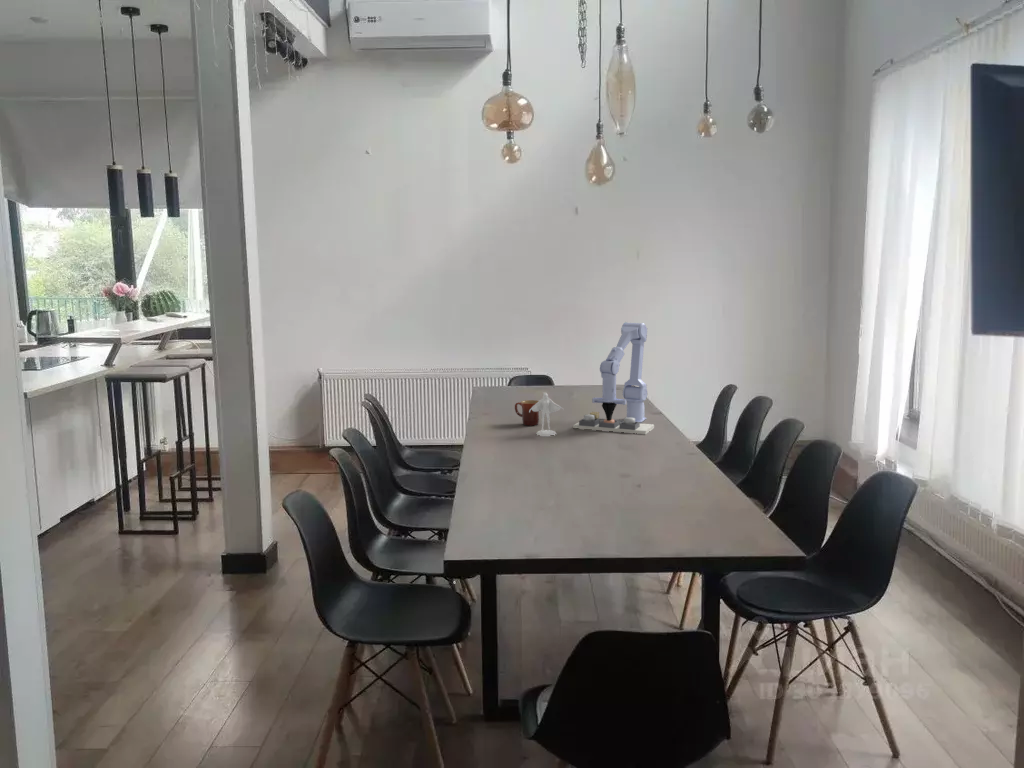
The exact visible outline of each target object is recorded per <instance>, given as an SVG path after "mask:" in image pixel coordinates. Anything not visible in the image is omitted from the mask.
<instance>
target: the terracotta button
mask: <svg viewBox="0 0 1024 768" xmlns="http://www.w3.org/2000/svg"><path fill="white" fill-rule="evenodd" d="M603 419H604V423H615V420H616V419H615V418H614V419H613V418H612V419H611V420H610V421H608V420H607V418H603Z"/></svg>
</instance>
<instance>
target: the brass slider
mask: <svg viewBox="0 0 1024 768" xmlns="http://www.w3.org/2000/svg"><path fill="white" fill-rule="evenodd" d="M589 414H591V415H595V419H598V418H599V419H600V412H599V411H592V412H590V413H589Z"/></svg>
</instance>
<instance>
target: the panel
mask: <svg viewBox="0 0 1024 768" xmlns="http://www.w3.org/2000/svg"><path fill="white" fill-rule="evenodd" d="M604 419H605V418H600V417H599V418H598V419H595V421H594V422H590V421H584V417H583V418H582V419H580V420H579V421H578V422H576V423H575V424H573V425H572V429H573V428H580V429H579V430H584V429H592V430H591V431H596V430H602V431H601V432H609V431H613V432H612V433H621V432H624V434H633V433H635V434H636V433H637V435H647V434H648V433H650V432H651V431H652V430H653V429H655V424H651V423H640V422H635V425H630V424H624V419H614V420H615V423H604ZM649 431H650V432H649Z"/></svg>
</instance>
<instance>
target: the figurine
mask: <svg viewBox="0 0 1024 768" xmlns="http://www.w3.org/2000/svg"><path fill="white" fill-rule="evenodd" d="M542 393H543V394H542V397H541V398H540V399H539V400H537V401H538V402H537V403H536V404H535V405H534V406H533V407H532V408H531V409H532V411H534V412H537V411H539V412H541V430H538V431H537V432H536V433H535V435H536V434H537V435H536V436H538V435H540V436H539V437H551V436H550V435H554V436H556V435H557V432H556V431H555V430H552V429H551V425H550V422H551V421H550V418H551V417H550V416H551V413H555V412H558V411H560V410H562V411H565V410H564V408H563V407H561V405H559V404H557V403H555V402H554V401H553V400H552V399H551V398H550V397H549V394H548V393H547V392H544V391H543V392H542ZM531 409H530V410H529V413H530V411H531ZM545 417H546V422H547V428H548V429H544V426H545ZM555 434H556V435H555Z"/></svg>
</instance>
